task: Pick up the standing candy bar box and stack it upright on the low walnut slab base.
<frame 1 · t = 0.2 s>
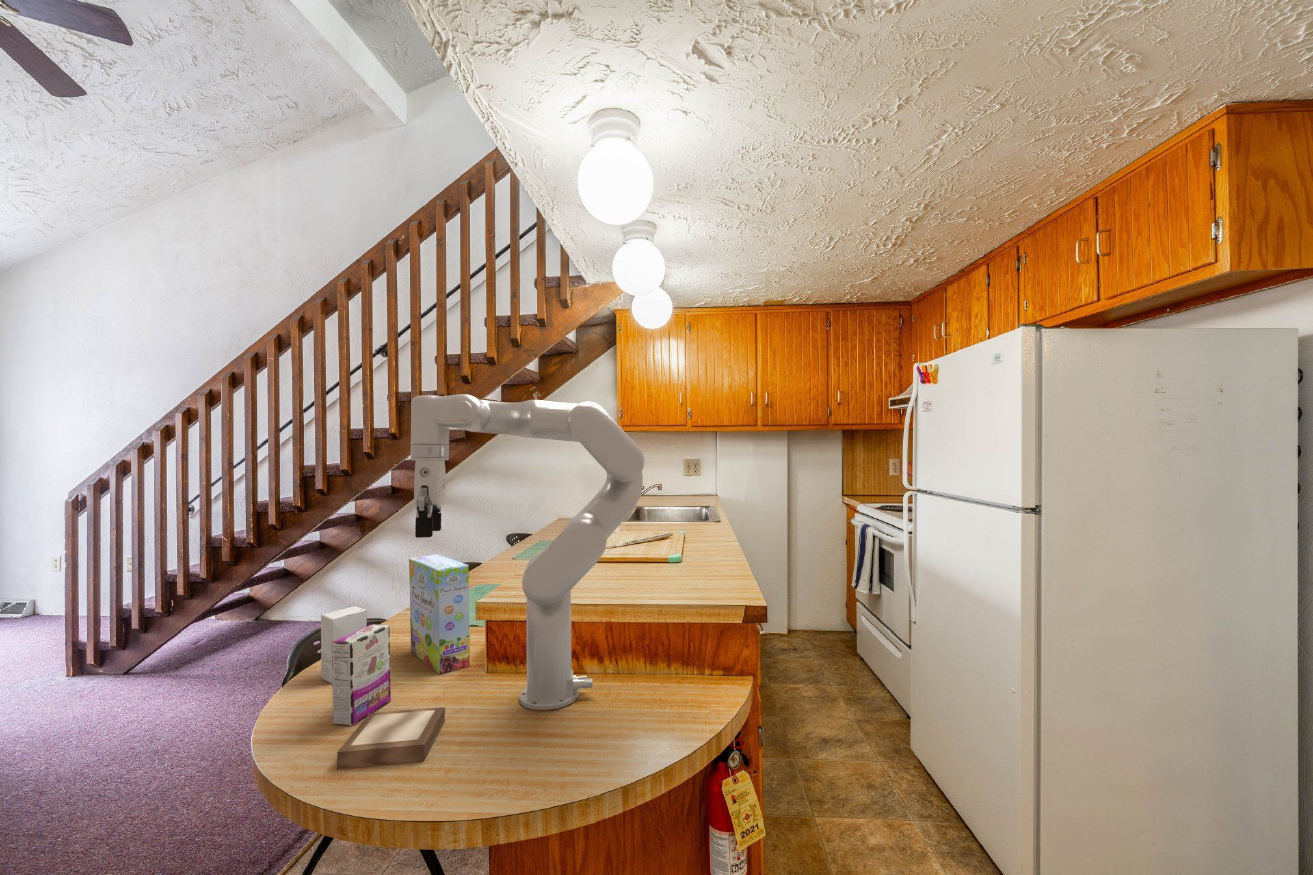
hand: (428, 533, 113), 36 cm above the counter, tool pointing down, fingers open, 9 cm apart
skincare box: (344, 677, 129), on the counter
base: (395, 743, 98), on the counter
snack box: (438, 660, 139), on the counter
candy bar box: (362, 713, 110), on the counter
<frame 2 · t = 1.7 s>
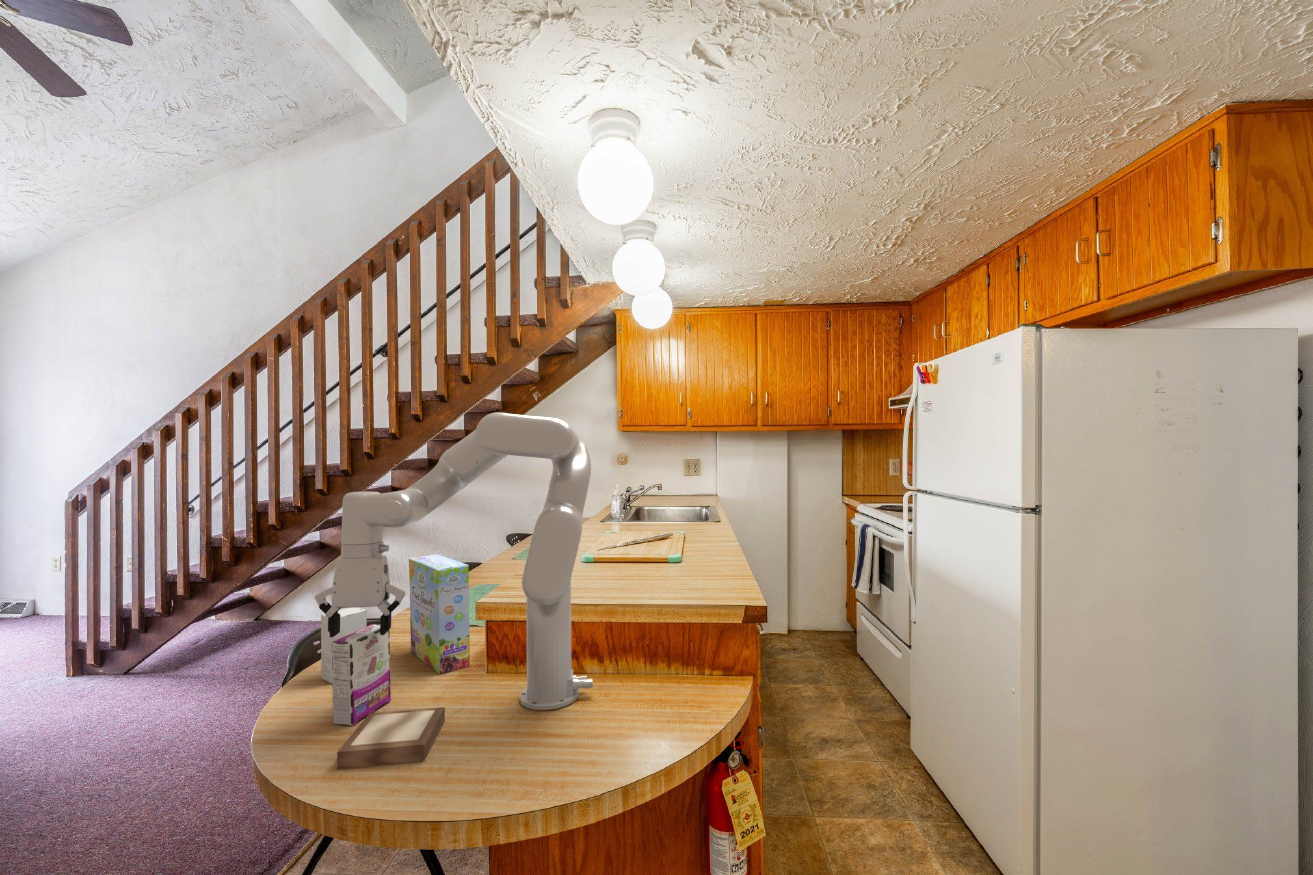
hand: (359, 634, 110), 16 cm above the counter, tool pointing down, fingers open, 9 cm apart
nothing on the counter moved.
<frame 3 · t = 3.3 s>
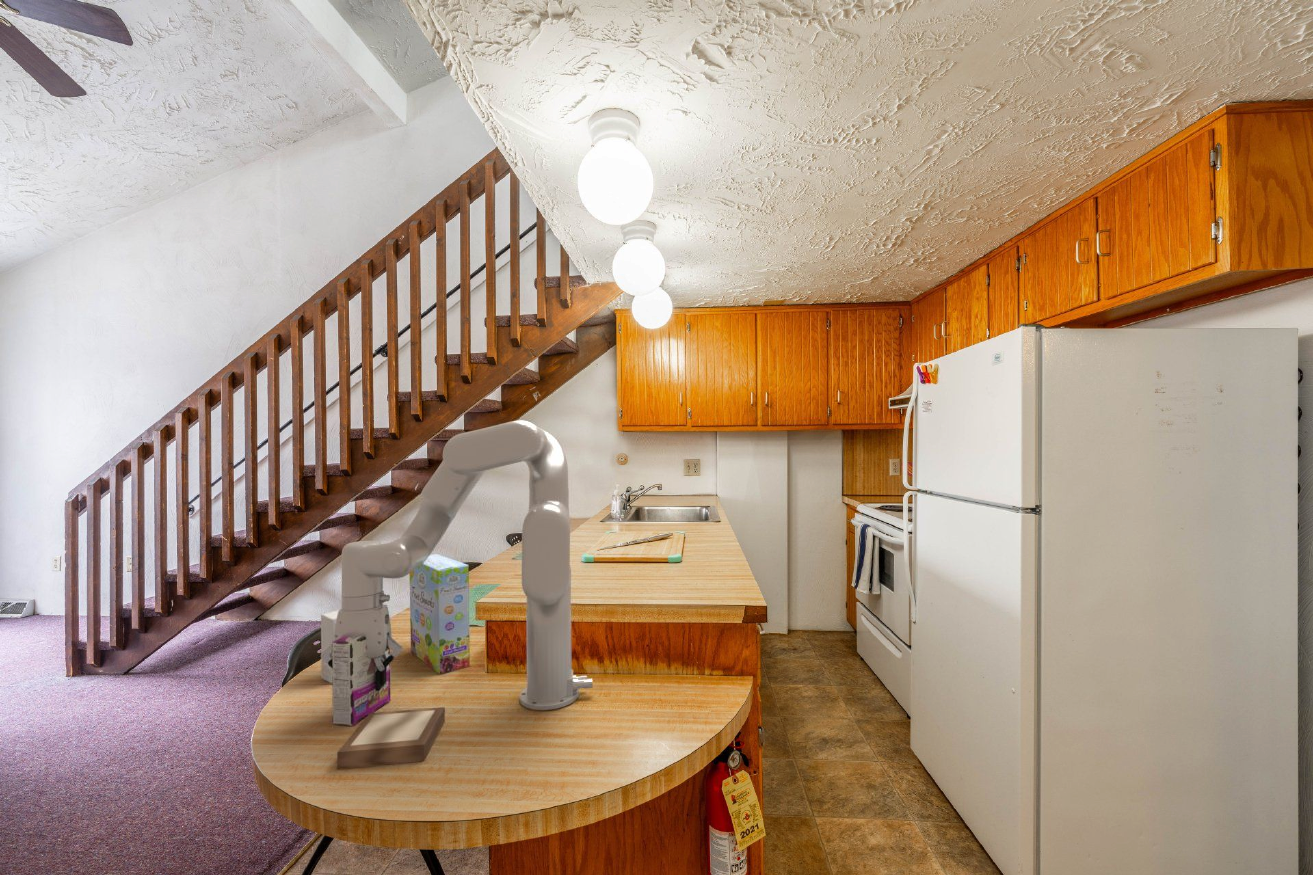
hand: (362, 688, 110), 5 cm above the counter, tool pointing down, fingers closed on candy bar box, 6 cm apart
candy bar box: (361, 713, 110), on the counter, touching gripper
everything else where it was.
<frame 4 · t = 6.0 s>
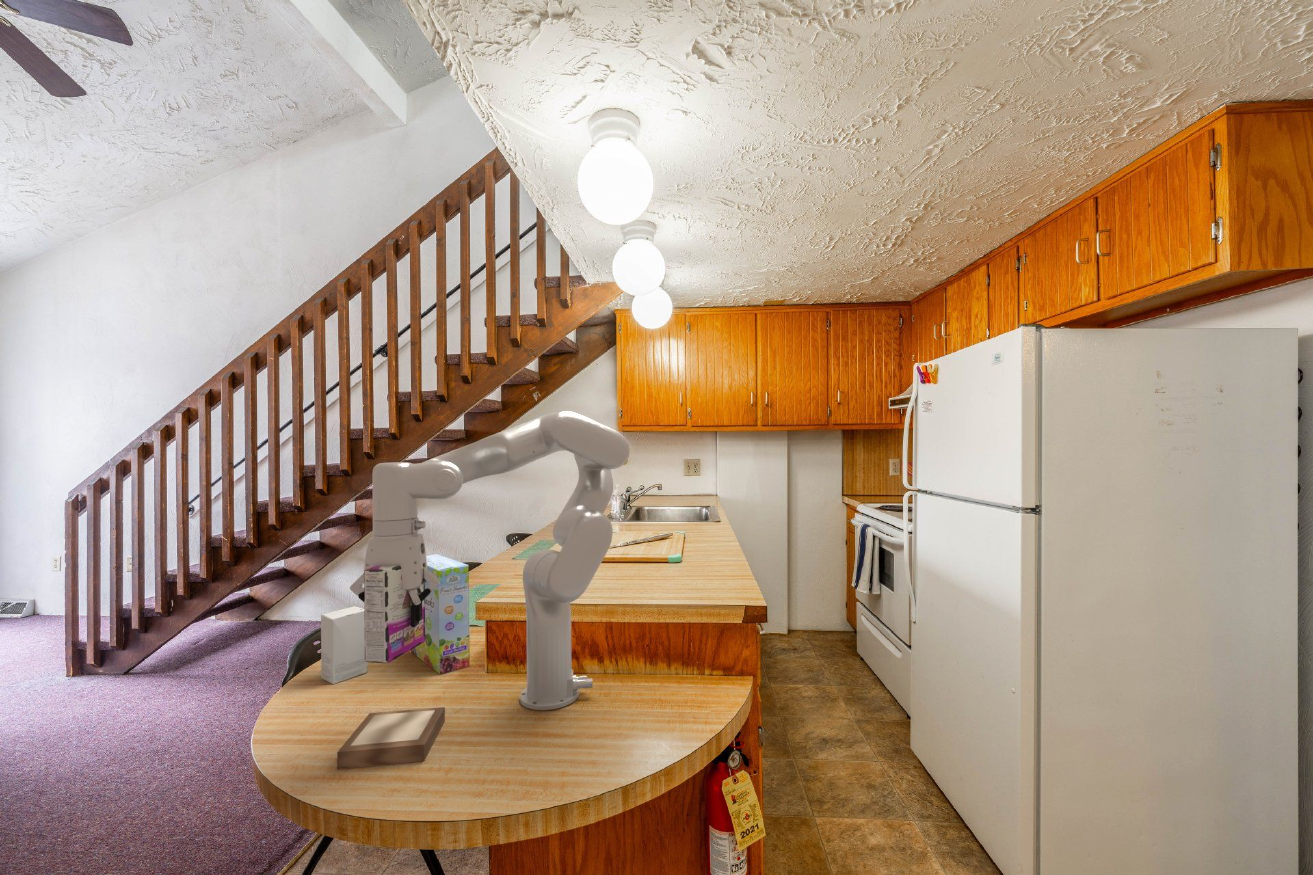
hand: (396, 625, 99), 21 cm above the counter, tool pointing down, fingers closed on candy bar box, 6 cm apart
candy bar box: (395, 653, 98), point 16 cm above the counter, touching gripper
everything else where it was.
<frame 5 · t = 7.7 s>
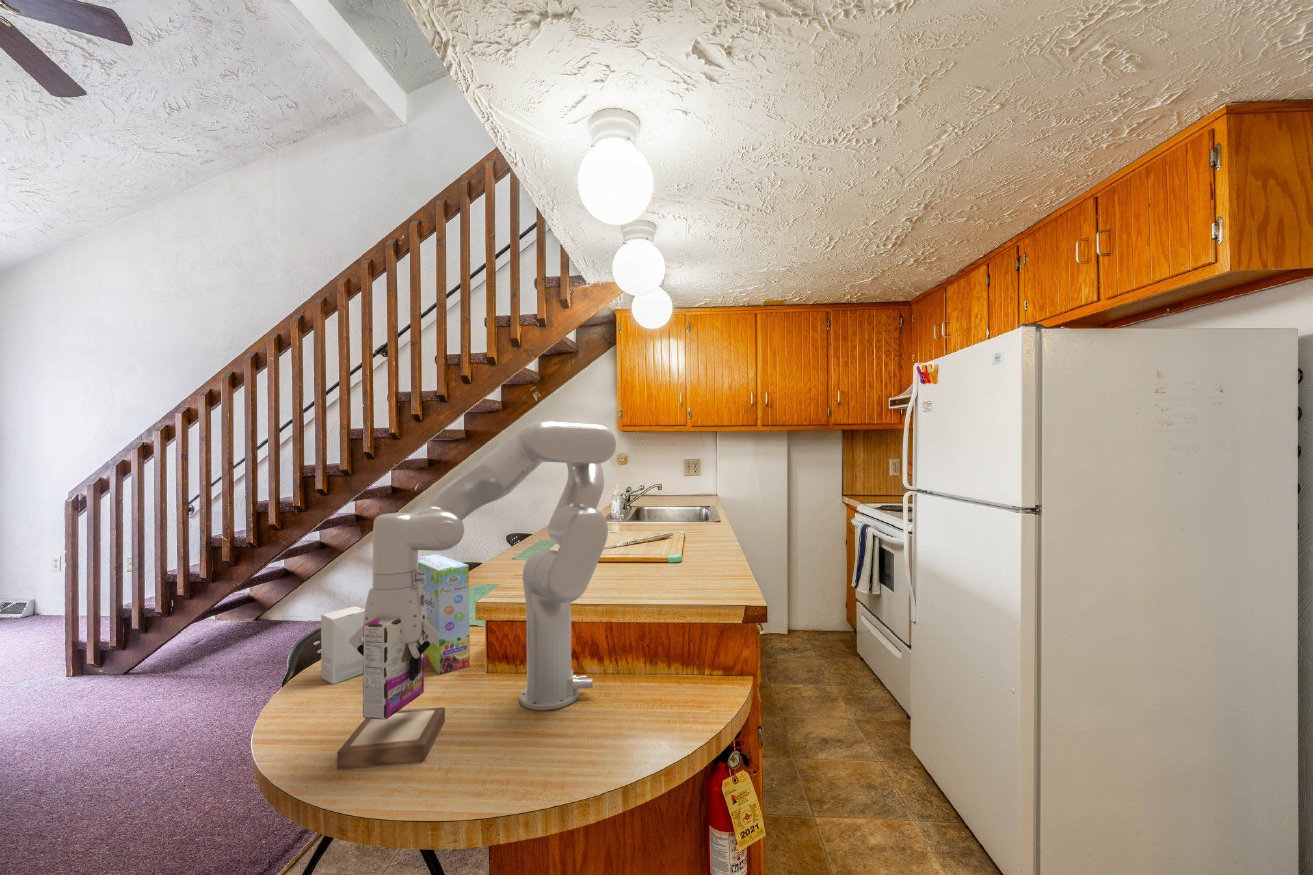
hand: (394, 678, 98), 12 cm above the counter, tool pointing down, fingers closed on candy bar box, 6 cm apart
candy bar box: (393, 706, 98), point 7 cm above the counter, touching gripper
everything else where it was.
when the fingers open (8 cm above the counter, at t = 8.9 s): candy bar box stays where it is, resting on base.
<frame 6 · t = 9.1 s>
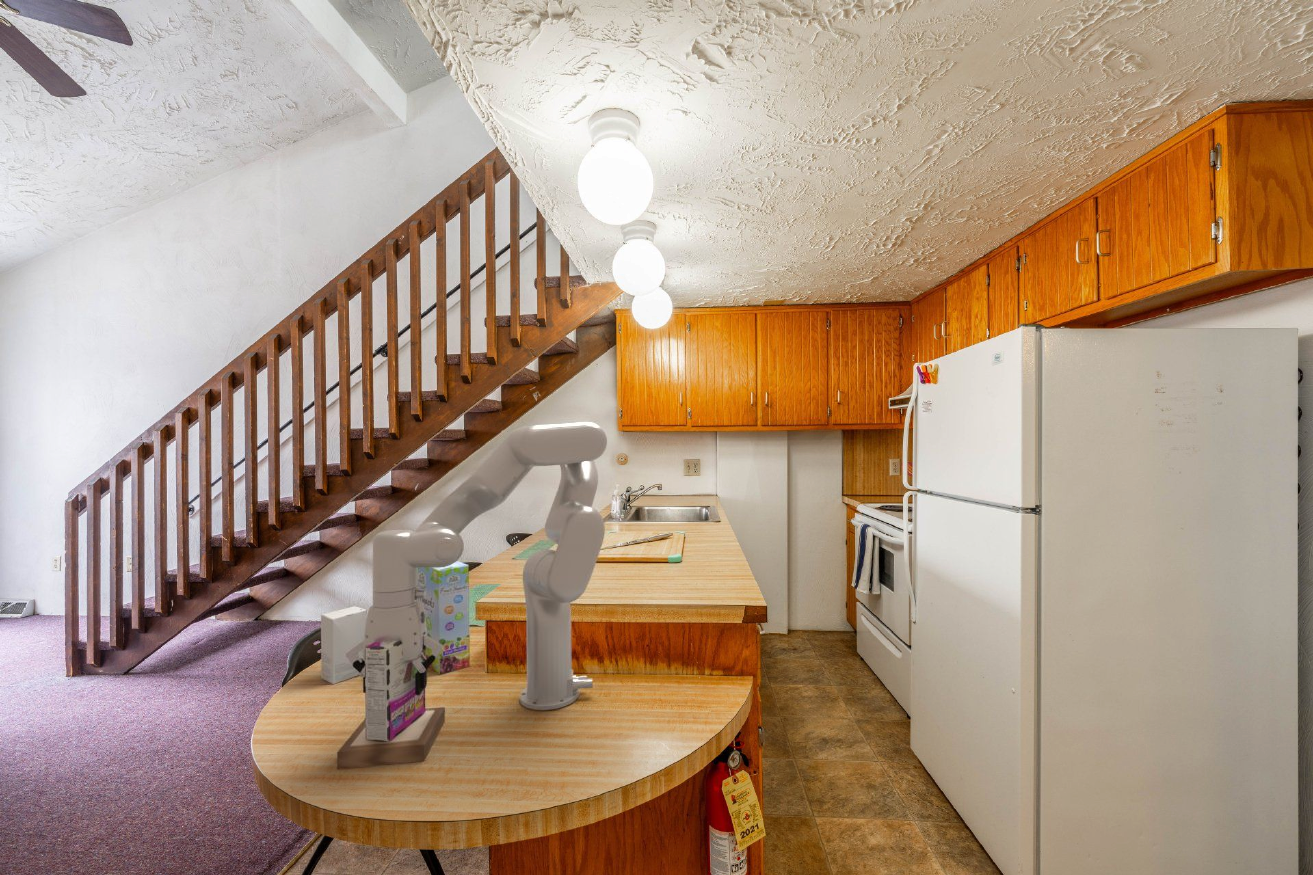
hand: (395, 693, 98), 9 cm above the counter, tool pointing down, fingers open, 8 cm apart
candy bar box: (396, 727, 98), point 3 cm above the counter, touching base
everything else where it was.
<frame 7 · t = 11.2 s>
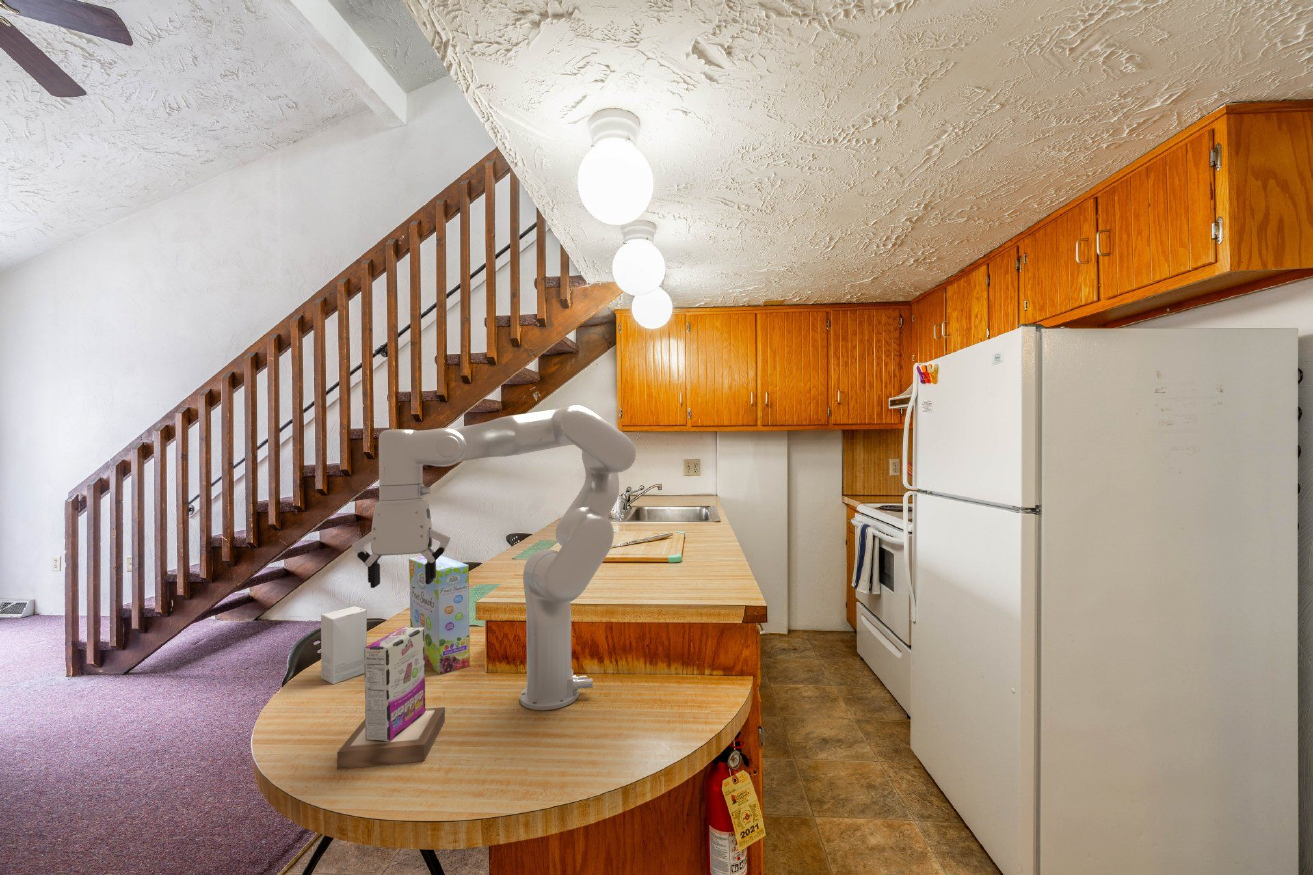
hand: (402, 584, 101), 28 cm above the counter, tool pointing down, fingers open, 9 cm apart
nothing on the counter moved.
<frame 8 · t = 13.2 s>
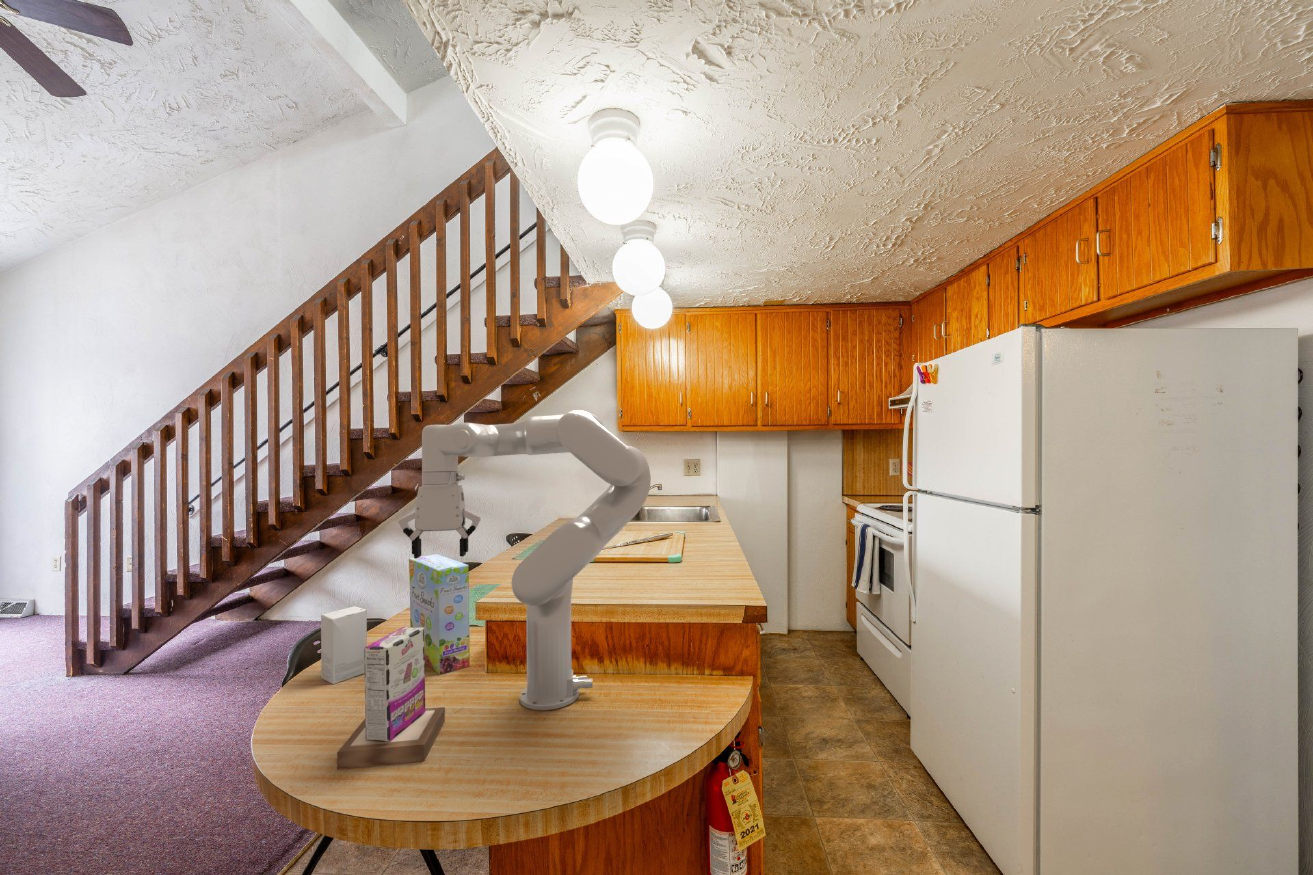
hand: (440, 556, 119), 30 cm above the counter, tool pointing down, fingers open, 9 cm apart
nothing on the counter moved.
at the end: candy bar box 0.1 cm from the base (horizontally); candy bar box tilted 0°; candy bar box touching base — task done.
